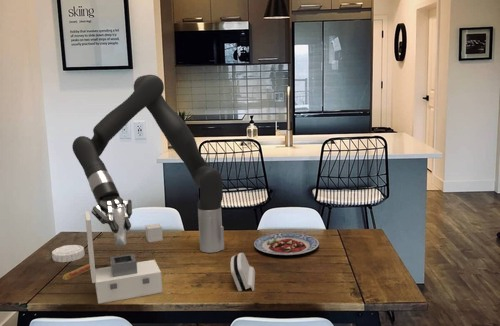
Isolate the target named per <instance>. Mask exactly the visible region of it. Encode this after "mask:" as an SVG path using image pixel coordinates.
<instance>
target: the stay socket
mask: <svg viewBox="0 0 500 326" xmlns="http://www.w3.org/2000/svg"><path fill="white" fill-rule="evenodd" d="M109 261H110V262H109V263H110V267H111V271H112V275H113V277H117V276H123V275H130V274H136V273H137V260H136V256H135V254H134V253H131V254H124V255H117V256H111V257H109Z"/></svg>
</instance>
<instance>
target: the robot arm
mask: <svg viewBox="0 0 500 326" xmlns="http://www.w3.org/2000/svg"><path fill="white" fill-rule="evenodd" d="M164 88H165V86H164V81H163V80H162V78H160V77H159V76H158V75H155V74H145V75H141V76H138V77H136V79H135V81H134V83H133V92H132V93H131V94H130V96H128V97H127V98H126V99H125V100H124V101H123V102H122V103H121V104H119V105H118V106H116V107H115V108H114V109H112V110H111V111H109V113H107V114H106V115H105V116H104V117H102V119H101V120H100V121H99V122H97V123H96V124H95V126H94V127H93V129H92V132H93V136H92V137H91V138H89V137H88V136H84V135H81V136H78V137H77V138H74V141H73V143H72V151H73V154H74V156H75V158H76V159H77V161H78V162H79V164H80V165H81V168H82V170H83V173H84V175H85V177H86V179H87V181H88V185H89V188H90V191H91V192H92V194H93V196H94V197H93V198H94V199H95V202H96V203H97V206H93V207H92V209H91V214H92V215H93V216H94V217H95V218H96V219H97V220H98V221H99V222H100V223H101V225H105V224H107V225H109V228H110V231H111V232H112V233H113V234H114V233H115V234H116V233H118V227H117V225H116V223H115V221H113V210H112V208H114V207H124V214H125V228H126V232H128V231H130V230H131V227H132V223H131V222H130V218H131V216H132V215H133V207H132V206H133V203H132V201H133V200H131V199H128V200H124V199H123V198H122V197H121V196H120V192H119V190H118V188H117V187H116V183H114V180H113V178H112V176H111V174H110V173H109V171H108V169H107V167H106V165H105V163H104V162H103V160H102V159H101V157H100V156H102V154H103V152H104V151H105V150H106V148H107V146H108V144H109V143H110V141H111V140H112V139H113V138H114V137H115V136H116V135H117V134H118V133H119V132H120V131H122V129H124V127H125V126H126V125H127V124H129V122H130V121H131V120H132V119H133V118H134V117H135V116H136V115H138V114H139V113H140V112H141V111H143V109H145V108H146V109H147V110H148V111H149V113H150V114H151V115H152V117H153V119H154V121H155V123H156V124H157V126H158V127H159V129H160V131H161V132H162V134H163V136H164V137H165V138H166V141H167V142H168V144H169V145H170V146H171V148H172V149H173V151H174V152H175V153H176V154H177V155H178V157H179V159H180V160H181V161H182V162H183V163H184V165H185V166H186V169H187V170H188V172H189V174H190V176H191V178H192V180H193V183H194V184H195V185H196V186H197V187H198V188H199V193H200V194H199V200H197V217H198V233H199V235H198V237H199V238H198V239H199V251H200V252H203V253H210V254H211V253H218V252H220V251H223V250H225V233H224V232H225V231H224V229H225V228H224V226H223V220H222V219H223V218H222V216H223V215H222V202H223V188H224V187H223V177H222V174H221V173H220V172H219V171H218V170H217V169H214V168H213V167H211V166H210V165H209V164H208V163H207V162H206V160H205V158H204V157H203V156H202V154H201V153H200V151H199V148H198V144H197V141H196V139H195V137H194V134H193V133H192V131H191V129H190V128H189V127H188V125H187V124H186V122H185V121H184V120H183V118H182V117H181V116H180V114H178V113H176V111H175V110H174V109H172V107H170V104H168V103H167V101H166V100H165V98H164V96H163V95H162V94H163V93H164V91H165V89H164ZM103 212H104V213H105V214H104V213H103Z"/></svg>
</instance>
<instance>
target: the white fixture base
mask: <svg viewBox="0 0 500 326" xmlns="http://www.w3.org/2000/svg"><path fill="white" fill-rule="evenodd" d="M84 217H85V227H86V239H87V250H88V262H89V263H90V270H89V271H90V276H91V277H90V278H91V283H92V284H95V292H96V293H95V294H96V299H97V304H104V303H105V304H106V303H111V302H115V301H116V302H117V301H122V300H126V299H133V298H140V297H144V296H149V295H150V296H151V295H155V294H161V293H163V286H162V285H163V283H162V281H163V280H162V271H161V270H160V267H159V266H158V264H157V261H156V259H149V260H145V261H138V262H137V273H136V274H130V275H123V276H117V277H113V275H112V271H111V266H106V267H99V268H96V266H95V253H94V242H93V230H92V220H91V219H92V218H91V215H90V210H84Z"/></svg>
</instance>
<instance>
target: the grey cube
mask: <svg viewBox="0 0 500 326" xmlns="http://www.w3.org/2000/svg"><path fill="white" fill-rule="evenodd" d="M144 227H145V238H146V240H147V242H148V243H152V242H153V243H154V242H161V241H163V239H164V238H163V227H162V225H161V224H160V223H151V224H145V226H144Z"/></svg>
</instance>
